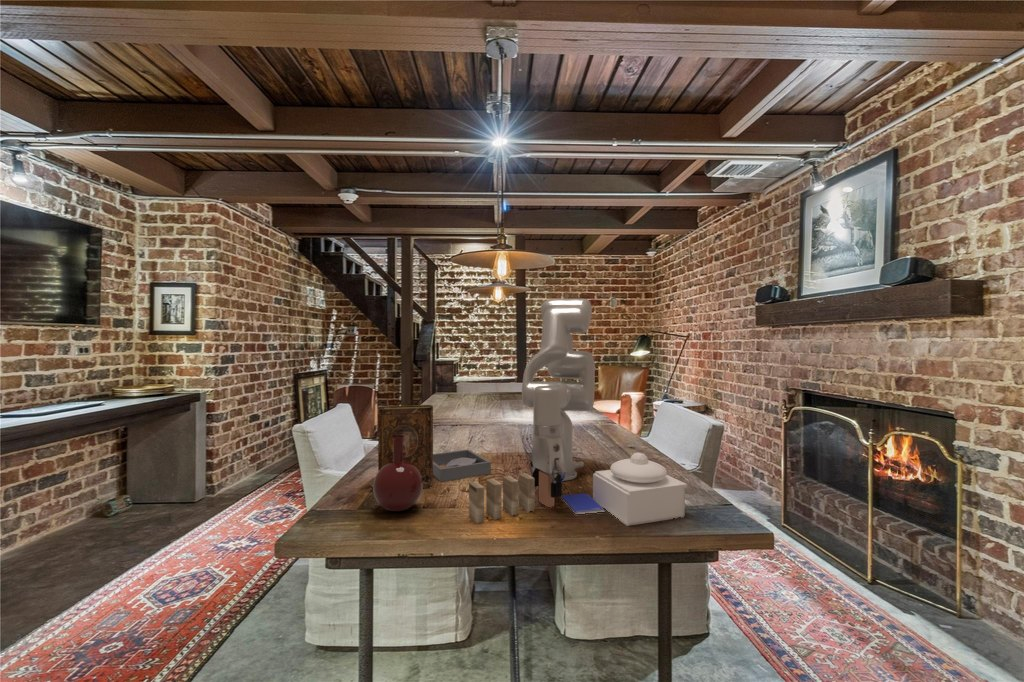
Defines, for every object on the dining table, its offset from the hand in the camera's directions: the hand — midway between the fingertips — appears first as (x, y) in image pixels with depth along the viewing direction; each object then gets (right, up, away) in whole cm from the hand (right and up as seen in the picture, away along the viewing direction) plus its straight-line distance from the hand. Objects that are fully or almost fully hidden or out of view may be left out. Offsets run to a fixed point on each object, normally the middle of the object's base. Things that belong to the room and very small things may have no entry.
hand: (546, 491), depth 130 cm
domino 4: (-6, -4, -3) cm, 8 cm away
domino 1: (-19, -4, -10) cm, 22 cm away
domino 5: (0, -4, 0) cm, 4 cm away
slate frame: (-29, -3, +32) cm, 43 cm away
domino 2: (-14, -4, -8) cm, 17 cm away
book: (-43, -4, +14) cm, 45 cm away
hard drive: (+10, -5, -1) cm, 11 cm away
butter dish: (+25, -4, -3) cm, 25 cm away
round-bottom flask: (-41, -4, -4) cm, 41 cm away
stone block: (-28, -4, +31) cm, 42 cm away
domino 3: (-10, -4, -5) cm, 12 cm away
